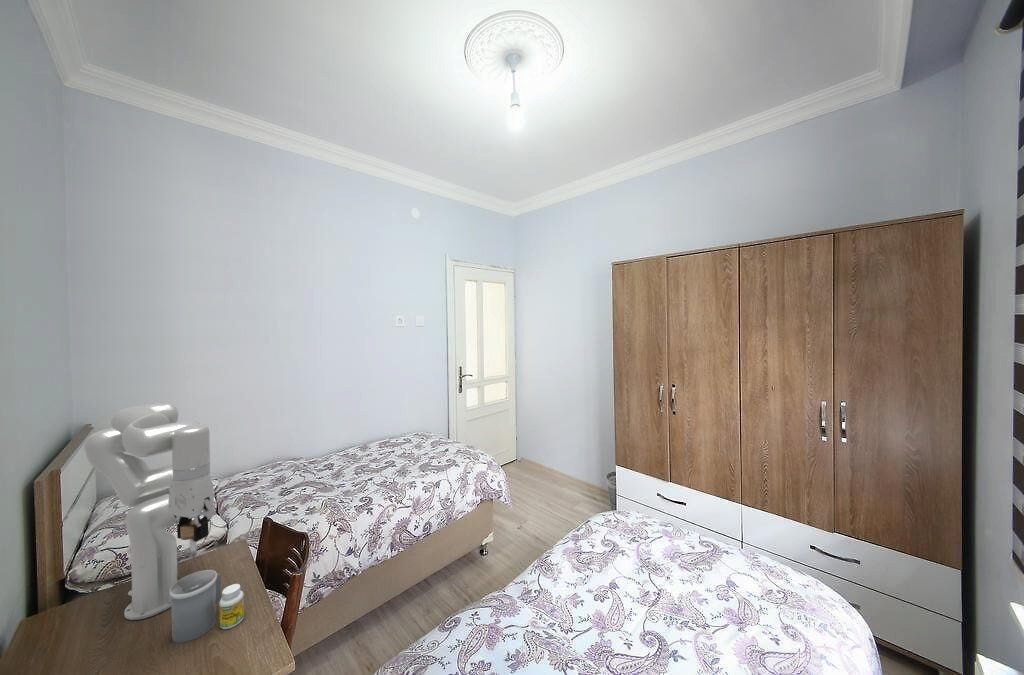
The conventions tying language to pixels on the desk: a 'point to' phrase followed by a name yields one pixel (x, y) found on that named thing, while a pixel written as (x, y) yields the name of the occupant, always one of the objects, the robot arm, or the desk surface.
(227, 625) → the supplement bottle
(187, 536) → the plunger
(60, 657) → the desk surface
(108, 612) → the desk surface
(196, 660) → the desk surface
